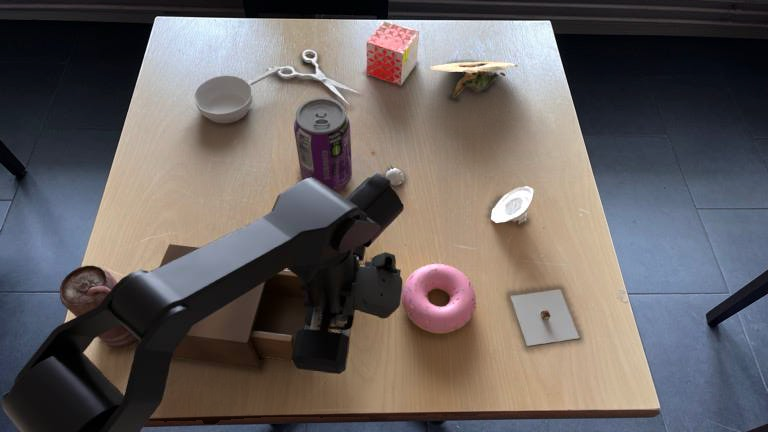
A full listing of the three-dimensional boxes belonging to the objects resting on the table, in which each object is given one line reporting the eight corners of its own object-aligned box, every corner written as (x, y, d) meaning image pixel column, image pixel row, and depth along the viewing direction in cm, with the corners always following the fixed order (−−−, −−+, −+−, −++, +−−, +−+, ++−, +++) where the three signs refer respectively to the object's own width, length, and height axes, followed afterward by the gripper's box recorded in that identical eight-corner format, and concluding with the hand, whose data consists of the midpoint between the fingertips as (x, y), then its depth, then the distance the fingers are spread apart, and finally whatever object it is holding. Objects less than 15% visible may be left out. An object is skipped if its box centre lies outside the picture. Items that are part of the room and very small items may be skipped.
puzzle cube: (400, 85, 107) (402, 53, 100) (366, 74, 108) (366, 41, 102) (416, 63, 111) (419, 31, 104) (383, 52, 113) (384, 20, 106)
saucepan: (189, 104, 102) (183, 88, 99) (268, 68, 109) (265, 52, 106) (215, 135, 97) (210, 120, 94) (296, 96, 104) (294, 80, 101)
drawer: (359, 299, 77) (358, 273, 71) (346, 374, 71) (344, 353, 64) (241, 284, 78) (230, 257, 72) (218, 357, 72) (203, 335, 65)
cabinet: (281, 288, 79) (272, 256, 71) (260, 369, 72) (247, 343, 64) (188, 277, 80) (169, 243, 72) (158, 355, 73) (132, 328, 65)
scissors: (303, 45, 112) (374, 85, 105) (304, 48, 113) (374, 88, 106) (267, 69, 107) (339, 113, 100) (268, 72, 108) (339, 116, 101)
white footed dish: (508, 234, 90) (517, 240, 82) (485, 215, 90) (492, 219, 82) (539, 200, 90) (552, 202, 82) (516, 180, 90) (527, 180, 82)
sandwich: (462, 82, 117) (469, 47, 114) (516, 100, 109) (526, 63, 105) (409, 91, 105) (414, 52, 102) (465, 112, 97) (473, 71, 93)
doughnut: (422, 260, 83) (424, 246, 79) (485, 292, 80) (490, 279, 76) (387, 314, 77) (388, 302, 74) (454, 351, 74) (458, 340, 71)
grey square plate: (560, 289, 80) (564, 283, 79) (579, 338, 76) (583, 333, 74) (510, 296, 79) (513, 290, 78) (527, 345, 75) (530, 341, 73)
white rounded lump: (390, 169, 93) (391, 159, 91) (409, 179, 92) (410, 169, 90) (380, 180, 92) (380, 170, 90) (399, 190, 91) (400, 181, 89)
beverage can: (354, 194, 90) (352, 133, 78) (302, 198, 89) (292, 137, 77) (349, 156, 95) (347, 92, 83) (301, 159, 94) (291, 96, 82)
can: (143, 351, 73) (102, 307, 62) (98, 350, 73) (47, 306, 61) (155, 311, 76) (117, 263, 65) (111, 310, 76) (66, 262, 65)
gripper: (389, 354, 53) (385, 398, 66) (407, 207, 64) (400, 270, 76) (282, 341, 53) (299, 387, 66) (317, 197, 64) (326, 261, 77)
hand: (335, 322), depth 71 cm, fingers closed, pressing on drawer
